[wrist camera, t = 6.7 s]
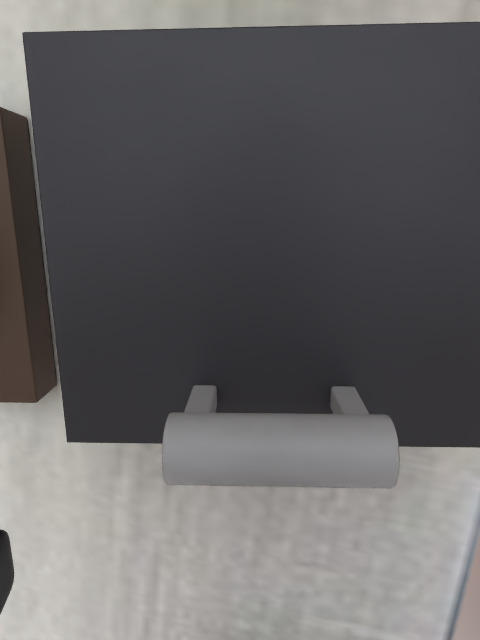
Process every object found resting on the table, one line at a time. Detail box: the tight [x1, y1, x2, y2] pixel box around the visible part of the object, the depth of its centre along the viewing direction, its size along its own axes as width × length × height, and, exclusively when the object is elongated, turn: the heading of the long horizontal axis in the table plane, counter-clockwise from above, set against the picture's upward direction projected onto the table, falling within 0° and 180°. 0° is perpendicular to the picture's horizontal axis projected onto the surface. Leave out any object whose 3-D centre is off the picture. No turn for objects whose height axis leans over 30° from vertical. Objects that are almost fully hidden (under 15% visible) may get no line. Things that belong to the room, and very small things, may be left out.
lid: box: [23, 22, 480, 488], centre depth 11 cm, size 11×13×4 cm
